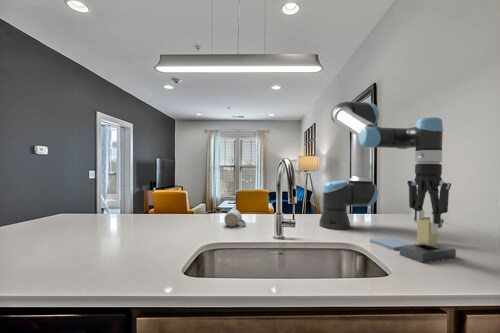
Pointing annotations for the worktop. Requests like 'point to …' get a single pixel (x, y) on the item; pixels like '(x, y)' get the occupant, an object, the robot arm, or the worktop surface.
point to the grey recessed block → (427, 252)
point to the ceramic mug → (234, 218)
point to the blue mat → (389, 243)
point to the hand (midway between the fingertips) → (426, 231)
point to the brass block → (425, 233)
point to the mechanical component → (429, 218)
